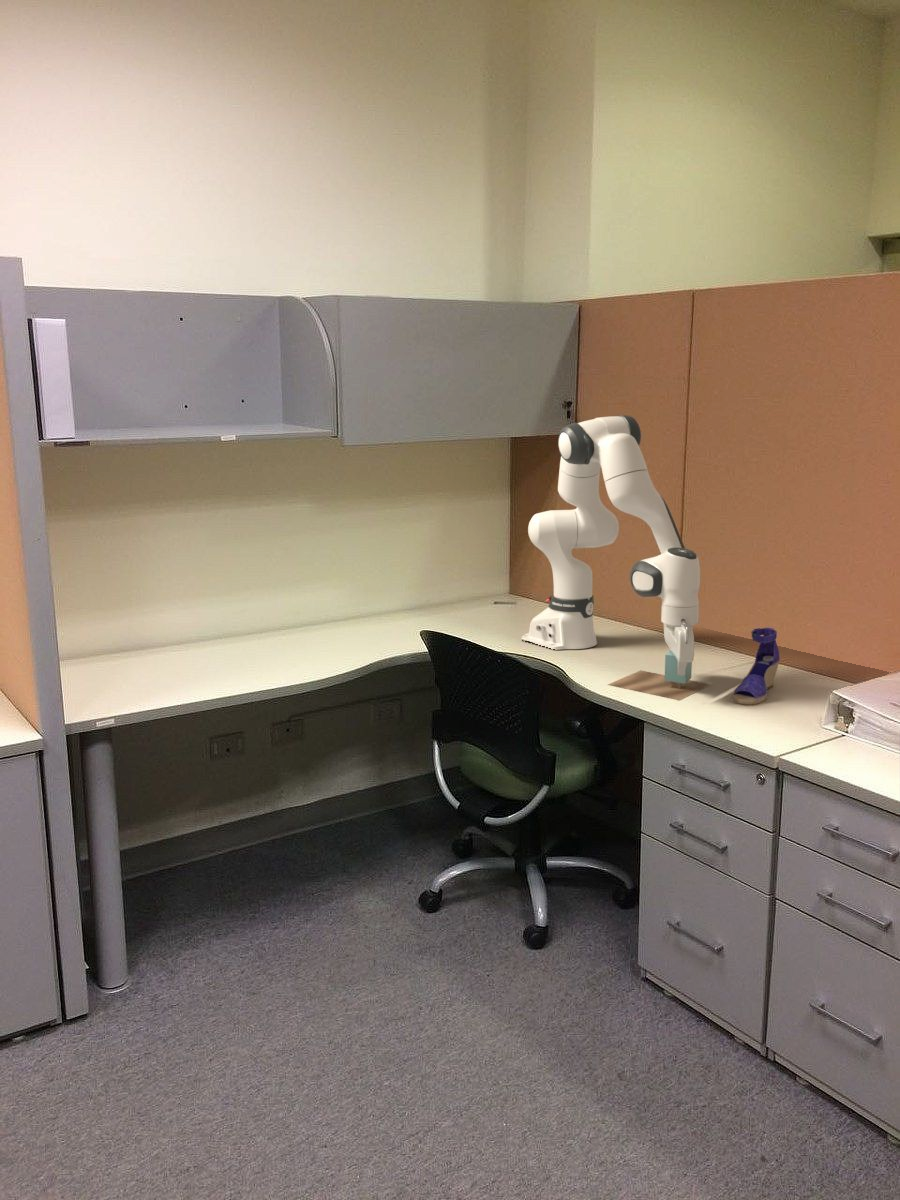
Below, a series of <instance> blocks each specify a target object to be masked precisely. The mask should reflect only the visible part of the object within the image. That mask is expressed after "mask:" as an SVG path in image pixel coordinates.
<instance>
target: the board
mask: <svg viewBox="0 0 900 1200" xmlns="http://www.w3.org/2000/svg"><path fill="white" fill-rule="evenodd" d="M607 686H610V687H614V688H615V687H616V688H619V689H620V688H621V689H623V690H624V689H625V690H629V691H634V692H637V693H638V692H639V693H642V694H647V695H652V696H656V697H661V698H666V699H671V700H676V701H678V702H679V701H682V700H684V699H686V698H688V697H690V696H692V695H694V694H695V693H697V692H700V691H701V690H702V691H703V690H704V689H706V688H707V687H710V686H712V684H711V683H706V682H700V681H695V680H691V679H690V680H689V681H688V682H687V683H685V686H683V687H681V688H678V687H673V686H670V681H665V674H661V673H656V672H653V671H652V672H651V671H647V670H638V671H636V672H633V673H632V674H628V675H626V676H624V677H622V678H619V679H617V680H615V681H612V682H610V683H608V684H607Z"/></svg>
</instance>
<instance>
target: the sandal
mask: <svg viewBox="0 0 900 1200" xmlns="http://www.w3.org/2000/svg"><path fill="white" fill-rule="evenodd" d="M750 633H751V638H752V641H753V642H756V643H760V644H759V646H758V649H757V651H756V655H755V660H754V662H753V664H752V666H751V668H750V669H749V671H748V672H747V675H746V676H744V678H743V680H741V682H740V684H739V685H738V686H737V687H736V688H735V689H734V690H733V693H732V698H733V702H734V703H735V704H737V705H741V706H754V705H759V704H761V703H764V702H765V701H766V700H767V697H768V696H767V695H768V690H769V689H772V688H773V687H774V684H775V679H776V678H775V677H776V674H777V672H778V667H779V664H780V650H779V647H778V644H777V643H778V642H777V640H776V639H777V637H778V635H777V633H778V632H777V630H776V629H775V628H772V627H763V628H760V627H759V628H753V629H752V630H751V631H750Z"/></svg>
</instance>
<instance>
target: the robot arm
mask: <svg viewBox="0 0 900 1200" xmlns="http://www.w3.org/2000/svg"><path fill="white" fill-rule="evenodd" d="M641 441H642V430H641V427H640V425H639V422H637V420H636V419H635V418H634V417H633V416H631V415H627V414H618V415H614V416H612V415H611V416H602V417H601V416H600V417H595V418H594V419H588V420H584V421H581V422H573V423H570V424H567V425H566V426H564V427H563V428H562V429H561V430H560V431H559V435H558V438H557V447H558V451H559V452H558V453H559V455H560V461H559V469H558V470H559V471H558V472H559V473H558V482H557V492H558V495H559V496H560V498H562V500H564V501H565V502H566V503H567V504H570V505H572V506H574V507H576V508H574V509H557V510H555V509H554V510H551V509H550V510H546V511H542V512H538V513H535V514H534V515H532V517H531V519H530V521H529V522H528V527H527V532H528V533H527V534H528V537H529V539H530V542H531V543H532V544H533V546H534V547H536V548H538V549H539V551H541V552H542V553H543V554H544V555H545V557H546V558H547V560H548V562H549V563H550V566H551V567H550V568H551V571H552V579H553V583H552V584H553V594H552V595H550V596H549V597H545V599H546V600H545V602H549V604H548V605H547V607H546V608H545V609H544V610H542V611H541V612H539V613H538V614H536V615H535V616H534V617H533V618H532V619H531V620H530V624H529V630H528V632H527V633H524V634H523V635H522V636H521V639H524V640H527V641H530V642H533V643H535V644H538V645H537V646H539V645H541V646H540V647H542V646H545V647H544V648H546V647H548V648H547V649H549V648H551V649H550V650H553V649H555V650H554V651H560V650H583V649H589V648H592V647H595V646H596V645H598V641H597V637H596V632H595V626H594V617H593V616H594V610H595V609H594V608H595V606H594V603H595V598H594V595H593V570H592V568H591V567H590V565H589V564H587V563H586V562H584V561H583V560H580V559H578V558H575V557H574V556H573V549H591V548H592V549H594V548H595V549H597V548H601V547H605V546H610V545H612V544H613V543H614V542H616V539H617V538H618V536H619V532H620V525H619V520H618V518H617V516H616V515H615V514H614V512H612V511H611V510H610V509H608V508H607V507H606V506H605V505H604V503H603V502H602V500H601V497H600V487H599V486H600V476H601V475H600V474H601V473H602V477H603V481H604V486H605V489H606V493H607V497H608V498H609V500H610V502H611V503H612V505H613V506H614V507H615V508H616V509H618V510H619V511H620V512H622V513H625V514H627V515H628V514H629V515H631V516H634V517H636V518H638V519H641V520H642V521H644V522H645V523H646V524H647V525H648V526H649V528H650V529H651V531H652V534H653V536H654V537H653V538H654V539H655V542H656V545H657V546H658V550H659V552H660V554H658V555H656V556H652V557H648V558H645V559H641V560H640V561H639V560H638V561H637V562H635V563H634V564H633V566H632V567H631V570H630V573H629V581H630V586H631V588H632V590H633V591H634V592H635V594H636V595H638V596H640V597H642V598H643V597H644V598H655V597H658V598H660V599H661V608H660V617H661V619H660V621H661V623H663V636H664V641H665V643H666V645H667V646H668V647H669V649H670V650H669V651H672V652H673V654H674V655H675V657H676V658H677V660H678V667H677V674H678V675H679V676H684V675H685V671H686V666H687V662H692V663H693V661H694V657H695V635H694V634H695V633H694V631H693V629H694V626H696V625H698V624H699V614H700V613H699V612H700V611H699V610H700V600H699V598H698V596H699V594H698V593H699V589H700V586H701V585H700V584H701V567H700V560H699V557H698V555H697V553H696V552H694V551H693V550H691V549H689V548H685V545H684V542H683V539H682V537H681V534H680V533H679V530H678V528H677V524H676V523H675V520H674V517H673V515H672V513H671V510H670V508H669V506H668V504H667V502H666V501H665V499H664V498H663V497H662V495H661V494H660V493H659V492H658V491H657V489H656V487H655V486H654V483H653V481H652V479H651V476H650V474H649V473H650V472H649V470H648V466H647V463H646V460H645V458H644V455H643V452H642V450H641V447H640V444H641ZM521 639H520V640H521ZM535 644H534V645H535Z"/></svg>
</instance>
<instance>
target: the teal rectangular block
mask: <svg viewBox="0 0 900 1200" xmlns="http://www.w3.org/2000/svg"><path fill="white" fill-rule="evenodd" d="M664 659H665V660H664V675H665V681H670V682H678V683H687V682H688V681H689V680H691V679H692V669H693V668H692V667H693V666H692V665H693V662H687V666H686V671H685V675H684V676H679V675H678V674H677V667H678V660H677V658H676V657H675V655H674V654H673V652H672V651H670V650H669V651H668V652H667V653H666V654H665V658H664Z"/></svg>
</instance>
